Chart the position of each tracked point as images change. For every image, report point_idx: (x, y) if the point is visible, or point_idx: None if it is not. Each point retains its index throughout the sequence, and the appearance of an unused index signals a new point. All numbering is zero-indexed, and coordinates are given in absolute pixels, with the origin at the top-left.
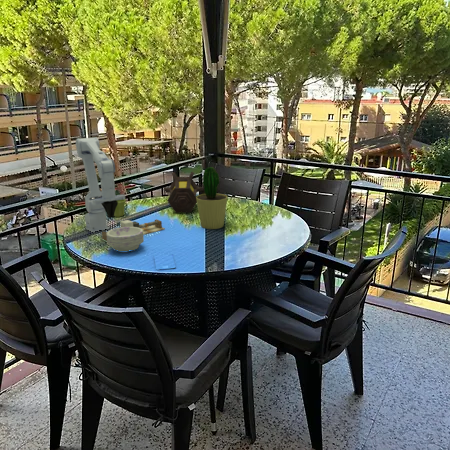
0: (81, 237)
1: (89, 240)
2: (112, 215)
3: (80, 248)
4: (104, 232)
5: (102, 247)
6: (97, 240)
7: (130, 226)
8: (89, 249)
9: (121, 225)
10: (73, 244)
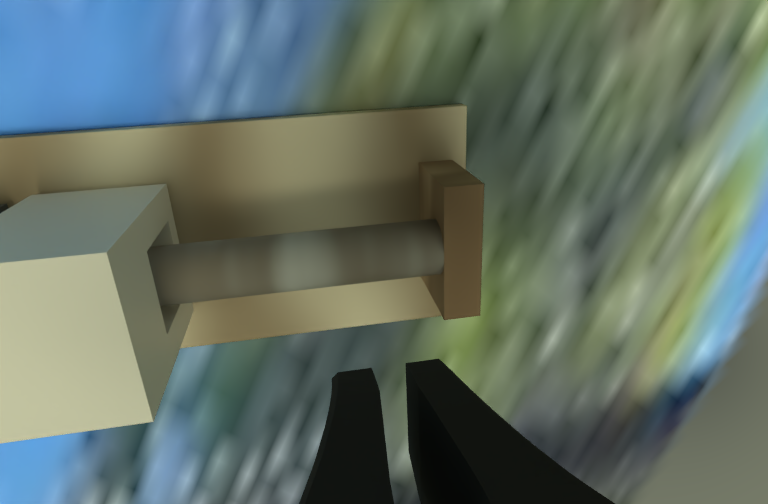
0: (556, 447)
1: (548, 334)
2: (379, 404)
3: (735, 155)
4: (463, 276)
5: (570, 17)
6: (491, 290)
7: (19, 233)
8: (700, 56)
9: (161, 353)
10: (705, 309)
